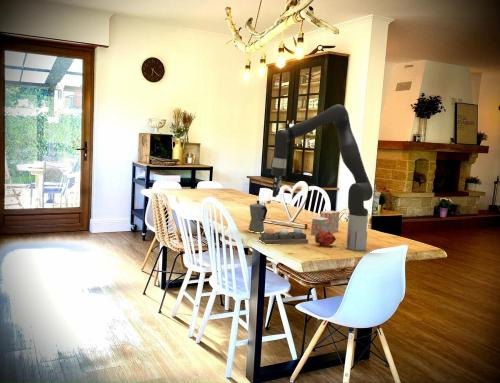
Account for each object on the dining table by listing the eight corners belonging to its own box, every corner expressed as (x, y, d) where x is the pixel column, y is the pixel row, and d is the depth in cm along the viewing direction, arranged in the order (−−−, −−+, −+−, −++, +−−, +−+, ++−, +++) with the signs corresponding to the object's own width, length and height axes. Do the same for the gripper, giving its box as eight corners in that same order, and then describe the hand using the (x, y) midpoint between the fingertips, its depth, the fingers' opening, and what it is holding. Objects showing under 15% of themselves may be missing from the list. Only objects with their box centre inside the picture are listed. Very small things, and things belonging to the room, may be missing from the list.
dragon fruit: (311, 248, 235) (332, 251, 239) (319, 241, 228) (340, 245, 232) (310, 233, 240) (331, 236, 243) (317, 226, 233) (339, 230, 236)
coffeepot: (243, 230, 265) (244, 198, 263) (256, 229, 270) (258, 198, 268) (258, 235, 252) (260, 202, 250) (272, 234, 257) (274, 202, 255)
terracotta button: (275, 236, 235) (275, 230, 234) (267, 236, 233) (267, 230, 233) (271, 234, 239) (272, 228, 238) (263, 234, 237) (264, 228, 237)
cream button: (289, 236, 238) (289, 230, 237) (281, 236, 236) (282, 230, 236) (285, 234, 242) (286, 228, 241) (278, 234, 240) (278, 228, 240)
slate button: (303, 235, 241) (303, 229, 240) (295, 235, 239) (296, 230, 239) (299, 233, 245) (299, 228, 244) (291, 234, 243) (292, 228, 243)
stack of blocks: (320, 236, 261) (322, 214, 259) (310, 234, 265) (312, 213, 263) (338, 231, 278) (339, 211, 276) (328, 230, 281) (330, 210, 280)
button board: (308, 243, 239) (308, 235, 239) (266, 244, 230) (266, 236, 230) (299, 239, 248) (299, 231, 248) (258, 240, 240) (258, 231, 239)
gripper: (284, 168, 244) (280, 198, 246) (287, 166, 258) (283, 195, 260) (270, 166, 245) (266, 196, 248) (274, 165, 259) (270, 193, 261)
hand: (275, 196), depth 254 cm, fingers open, 8 cm apart
